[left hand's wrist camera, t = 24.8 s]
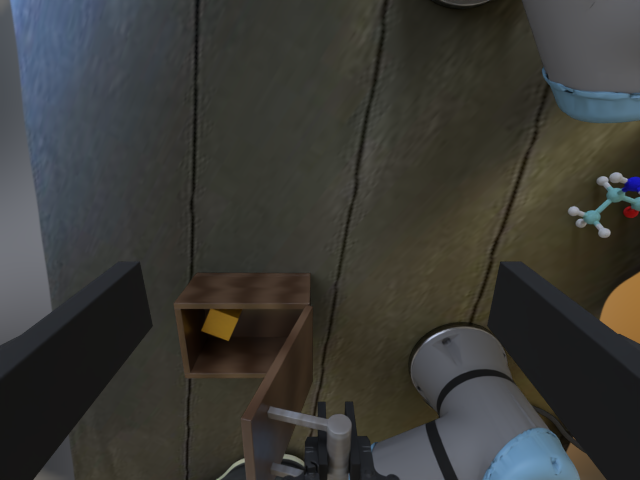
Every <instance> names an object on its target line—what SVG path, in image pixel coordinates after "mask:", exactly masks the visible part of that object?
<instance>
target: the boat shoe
mask: <svg viewBox="0 0 640 480" xmlns="http://www.w3.org/2000/svg"><path fill="white" fill-rule="evenodd" d="M304 464H305V463H304V462H303V461H302V460H301V459H299V458H297V457H295V456H292V455H288V454H284V457H283V459H282V462H281V465H285V466H289V467H293V468H296V469H300V470H304ZM282 478H283V477H280V476H276V477H275V480H282ZM217 480H246V470H245V459H242V460H239V461H237V462H236V463H234V464H233V465H232V466H231V467H230V468H229V469H228V470H227V471H226V472H225V473H224V474H223V475H222V476H221V477H220V478H218V479H217Z"/></svg>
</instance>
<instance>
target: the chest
mask: <svg viewBox="0 0 640 480" xmlns="http://www.w3.org/2000/svg"><path fill="white" fill-rule="evenodd" d="M306 306H311V274H310V273H196V275H195V276H194V277H193V278H192V280H191V281H190V282H189V284H188V285H187V286H186V288H185V289H184V290H183V292H182V293H181V294H180V296H179V297H178V298H177V300H176V301H175V302H174V309H175V315H176V322H177V328H178V335H179V341H180V347H181V354H182V360H183V367H184V373H185V378H265V376H266V374H267V372H268V371H269V369H270V367H271V365H272V364H273V362H274V360H275V358H276V357H277V355H278V353H279V352H280V350H281V348H282V346H283V345H284V343H285V341H286V339H287V338H288V336H289V334H290V333H291V331H292V329H293V327H294V326H295V324H296V322H297V320H298V319H299V317H300V315H301V313H302V312H303V310H304V308H305V307H306ZM210 309H242V311H241V314H240V317H239V319H238V322H237V324H236V326H235V328H234V330H233V333H232V335H231V337H230V339H229V341H227V340H224V339H222V338H219V337H216V336H213V335H211V334H208V333H205V332H203V331H201V330H202V328H203V325H204V323H205V320H206V318H207V316H208V313H209V311H210Z"/></svg>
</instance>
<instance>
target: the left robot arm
mask: <svg viewBox="0 0 640 480" xmlns="http://www.w3.org/2000/svg"><path fill="white" fill-rule="evenodd" d="M431 1H433V2H435V3H437V4H439V5H441V6H444V7H448V8H454V9H467V8H473V7H477V6H480V5H483V4H485V3H487V2H489V1H491V0H431ZM522 2H523V5H524V8H525V11H526V14H527V17H528V20H529V24H530V27H531V30H532V33H533V36H534V39H535V42H536V45H537V48H538V51H539V54H540V57H541V60H542V63H543V66H544V67H543V69H542V73H543V76H544V79H545V80H546V81H547V83H548V84H549V85H550V87H551V89H552V92H553V94H554V97H555V100H556V102H557V104H558V106H559V108H560V109H561V110H562V111H563V112H565V113H566V114H567V115H569V116H570V117H572V118H574V119H577V120H580V121H585V122H592V123H619V122H630V121H638V120H640V0H522ZM152 326H153V325H152V320H151V315H150V310H149V305H148V300H147V295H146V290H145V285H144V280H143V275H142V270H141V266H140V262H118V263H116V264H115V265H114V266H112V267H111V268H110V269H108V270H107V271H106V272H104V273H103V274H102V275H100V276H99V277H98V278H96V279H95V280H94V281H92V282H91V283H90V284H88V285H87V286H86V287H84V288H83V289H82V290H80V291H79V292H78V293H76V294H75V295H74V296H72V297H71V298H70V299H68V300H67V301H66V302H64V303H63V304H62V305H60V306H59V307H58V308H56V309H55V310H54V311H52V312H51V313H50V314H48V315H47V316H46V317H44V318H43V319H42V320H40V321H39V322H38V323H36V324H35V325H34V326H32V327H31V328H30V329H28V330H27V331H26V332H24V333H23V334H22V335H20V336H18V337H16V338H14V339H12V340H10V341H8V342H6V343H4V344H2V345H0V480H33V479H34V478H35V477H36V475H37V474H38V473H39V472H40V470H41V469H42V468H43V466H44V465H45V464H46V462H47V461H48V460H49V459H50V457H51V456H52V455H53V454H54V452H55V451H56V450H57V448H58V447H59V446H60V445H61V443H62V442H63V441H64V439H65V438H66V437H67V436H68V434H69V433H70V432H71V430H72V429H73V428H74V427H75V425H76V424H77V423H78V421H79V420H80V419H81V418H82V416H83V415H84V414H85V412H86V411H87V410H88V409H89V407H90V406H91V405H92V403H93V402H94V401H95V400H96V398H97V397H98V396H99V394H100V393H101V392H102V391H103V389H104V388H105V387H106V385H107V384H108V383H109V381H110V380H111V379H112V378H113V376H114V375H115V374H116V372H117V371H118V370H119V369H120V367H121V366H122V365H123V363H124V362H125V361H126V360H127V358H128V357H129V356H130V354H131V353H132V352H133V351H134V349H135V348H136V347H137V345H138V344H139V343H140V342H141V340H142V339H143V338H144V336H145V335H146V334H147V333H148V331H149V330H150V329H151V327H152ZM487 326H488V327H489V329H490V330H491V331H492V333H493V334H494V335H495V336H496V338H497V339H498V340H499V342H500V343H501V344H502V345H503V347H504V348H505V349H506V351H507V352H508V353H509V354H510V356H511V357H512V358H513V360H514V361H515V362H516V363H517V365H518V366H519V367H520V369H521V370H522V371H523V372H524V374H525V375H526V376H527V378H528V379H529V380H530V381H531V383H532V384H533V385H534V387H535V388H536V389H537V391H538V392H539V393H540V394H541V396H542V397H543V398H544V400H545V401H546V402H547V403H548V405H549V406H550V407H551V409H552V410H553V411H554V412H555V414H556V415H557V416H558V418H559V419H560V420H561V421H562V423H563V424H564V425H565V427H566V428H567V429H568V430H569V432H570V433H571V434H572V436H573V437H574V438H575V439H576V441H577V442H578V443H579V445H580V446H581V447H582V448H583V450H584V451H585V452H586V454H587V455H588V456H589V457H590V459H591V460H592V461H593V463H594V464H595V465H596V466H597V468H598V469H599V470H600V471H601V473H602V474H603V475H604V477H605V478H606V479H607V480H640V344H639V343H637V342H635V341H633V340H631V339H629V338H627V337H625V336H623V335H621V334H617V333H616V332H614V331H613V330H612V329H610V328H609V327H608V326H606V325H605V324H604V323H602V322H601V321H600V320H598V319H597V318H596V317H594V316H593V315H592V314H590V313H589V312H588V311H586V310H585V309H584V308H582V307H581V306H580V305H578V304H577V303H576V302H574V301H573V300H572V299H570V298H569V297H568V296H566V295H565V294H564V293H562V292H561V291H560V290H558V289H557V288H556V287H554V286H553V285H552V284H550V283H549V282H548V281H546V280H545V279H544V278H542V277H541V276H540V275H538V274H537V273H536V272H534V271H533V270H532V269H530V268H529V267H528V266H526V265H525V264H524V263H522V262H500V266H499V270H498V275H497V280H496V285H495V290H494V295H493V300H492V305H491V310H490V315H489V320H488V325H487Z"/></svg>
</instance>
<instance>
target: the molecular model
mask: <svg viewBox="0 0 640 480" xmlns="http://www.w3.org/2000/svg"><path fill="white" fill-rule="evenodd" d="M609 180H610V181H611V182H612V183H618V182H621V183H624V184H625V187H624V188H622V189H619V188H612V187H611V186H610V184H609V183H608V181H609ZM609 180H608V178H607V177H605V176H602V177H599V178H598V179H597V184H598V185H601V186H604V187H605V188H606V189H607V191H608V193H607V195H606V196H607V200H606V201H605V202H604V203H603V204H602V205H601V206H600V207H599V208H597V209H596V210H595V211H593V210H591V211H587V212H586V213H585V212H582V211H579V209H578V208H577V207H571V208H569V210H568V213H569V214H570V215H571V216H576V215H579V216H582V217H583V219H578V220H577V221H576V226H577V227H581V228H582V227H584V226H586V224H594V225H595V226H596V228H597V229H598V230H599V232H598V234H599V236H600V237H602V238H606V237H608V236H610V233H611V232H610V230H608V229H606V228H603V226H602V225H601V224H600V223H599V220H600V213H601V212H602V211H603V210H604V209H605V208H606V207H607V206H608V205H609V204H610V203H611V202H619V201H621V200H623V201H626V202H629V203H631V206H630V207H627V208H625V209H624V211H623V214H624V215H625V216H626V217H628V218H633V217H635V216H637V215H638V212H639V211H640V197H638V198H635V199H633V198H630V197H627V196H625V192H627V191H637V192H638V193H639V194H640V178H639V177H631V178H629V179H627V178H624V177H623V176H622V174H620V173H613V174H611V175H610V177H609Z"/></svg>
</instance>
